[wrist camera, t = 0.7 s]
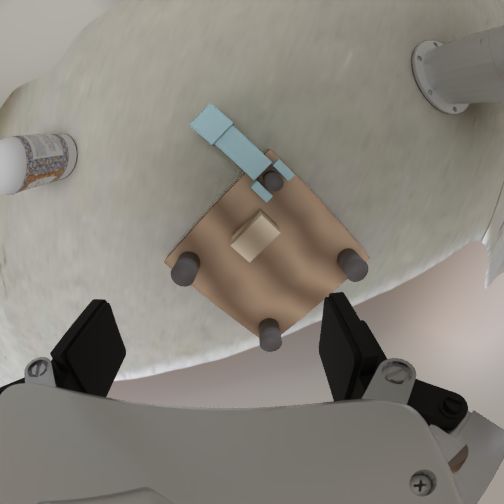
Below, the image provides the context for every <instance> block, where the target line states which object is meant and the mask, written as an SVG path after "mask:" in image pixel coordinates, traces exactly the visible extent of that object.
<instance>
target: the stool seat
mask: <svg viewBox="0 0 504 504" xmlns="http://www.w3.org/2000/svg"><path fill="white" fill-rule="evenodd" d="M264 155H265V156H266V157H267V158H268V159H269V160H270V161H271V162H274V161H275V160H276V159H280V158H279V157H278V156H277V155H276V154H275V153H274V152H273V151H272V150H271V149H268V150H267V151H266V152H265V153H264ZM280 160H281V159H280ZM281 161H282V160H281ZM282 162H283V161H282ZM283 163H284V162H283ZM284 164H285V163H284ZM285 165H286V164H285ZM286 166H287V165H286ZM287 167H288V166H287ZM288 168H289V167H288ZM289 169H290V168H289ZM290 170H291V169H290ZM291 171H292V170H291ZM292 172H293V171H292ZM293 173H294V172H293ZM294 174H295V173H294ZM256 179H257V180H258V181H260V182H261V183H262V184H263V185H264V186H265V187H266V188H267V189H268V190H269V191H270V192H271V194H272V196H273V197H272V198H271V199H270V200H269V201H268V202H267V203H266V202H265V201H264V200H263V199H262V198H261V197H260V196H259V195H258V194H257V193H256V192H255V191H254V190H253V189H252V188H251V185H250V184H251V183H252V182H253V181H254V180H253V179H252V178H251V177H250V176H249V175H248V174H247V173H244V174H243V175H242V176H241V177H240V178H239V179H238V180H237V182H236V183H235V184H234V185H233V186H232V187H231V188H230V189H229V190H228V191H227V192H226V193H225V194H224V195H223V196H222V197H221V198H220V199H219V200H218V201H217V202H216V203H215V205H214V206H213V207H212V208H211V209H210V210H209V211H208V212H207V213H206V214H205V215H204V216H203V217H202V219H201V220H200V221H199V222H198V223H197V224H196V225H195V226H194V227H193V228H192V230H191V231H190V232H189V233H188V234H187V235H186V236H185V237H184V239H183V240H182V241H181V242H180V243H179V244H178V245H177V246H176V248H175V249H174V250H173V251H172V252H171V253H170V254H169V256H168V257H167V258H166V260H165V261H164V263H165V264H166V265H168V266H169V267H170V268H171V269H172V270H171V277H172V280H173V281H174V282H175V283H176V284H178V285H180V286H189V285H192V286H193V287H194V288H195V289H197V290H198V291H199V292H200V293H202V294H203V295H204V296H205V297H207V298H208V299H209V300H210V301H212V302H213V303H214V304H215V305H217V306H218V307H219V308H221V309H222V310H223V311H224V312H226V313H227V314H228V315H230V316H231V317H232V318H234V319H235V320H236V321H237V322H239V323H240V324H241V325H243V326H244V327H245V328H247V329H248V330H249V331H251V332H252V333H254V334H255V335H256V336H258V337H259V339H260V347H261V348H262V349H263V350H265V351H268V352H272V351H276V350H277V349H279V348H280V347H281V345H282V340H281V334H282V333H284V332H285V331H286V330H287V329H289V328H290V327H291V326H292V325H294V324H295V323H296V322H297V321H299V320H300V319H301V318H302V317H304V316H305V315H306V314H307V313H308V312H310V311H311V310H312V309H313V308H314V307H316V306H317V305H318V304H319V303H320V302H321V301H323V300H324V299H325V297H327V296H328V295H329V294H330V293H332V292H333V291H334V290H335V289H336V288H338V287H339V286H340V285H341V284H342V283H343V282H344V281H345V280H347V279H349V280H350V281H353V282H358V281H360V280H362V279H363V278H364V277H365V276H366V275H367V273H368V265H367V263H366V261H367V260H368V259H369V258H370V257H369V256H368V255H367V254H366V252H365V251H364V250H363V249H362V248H361V246H360V245H359V244H358V243H357V242H356V240H355V239H354V238H353V237H352V236H351V234H350V233H349V232H348V231H347V230H346V229H345V227H344V226H343V225H342V224H341V223H340V222H339V221H338V219H337V218H336V217H335V216H334V215H333V214H332V213H331V211H330V210H329V209H328V208H327V207H326V206H325V205H324V204H323V203H322V202H321V200H320V199H319V198H318V197H317V196H316V195H315V194H314V193H313V192H312V191H311V190H310V189H309V188H308V186H307V185H306V184H305V183H304V182H303V181H302V180H301V179H300V178H299V177H298V176H297V175H296V174H295V175H294V176H293V177H292V178H291V179H290V180H289V181H288V180H286V179H285V178H284V177H283V176H282V175H281V174H280V173H279V172H278V171H277V170H276V169H275V168H274V167H273V166H272V165H271V164H270V165H269V166H268V167H267V168H266V169H265V170H264V171H263V172H262V173H261V174H260V175H259V176H258V177H257V178H256Z"/></svg>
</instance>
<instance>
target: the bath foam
mask: <svg viewBox="0 0 504 504" xmlns="http://www.w3.org/2000/svg"><path fill="white" fill-rule="evenodd" d="M76 158H77V151H76V146H75V143H74V141H73V140H72V139H71V138H70V137H69V136H68V135H65V134H38V135H22V136H14V137H8V138H4V139H2V140H0V195H10V194H15V193H18V192H21V191H24V190H27V189H30V188H33V187H36V186H40V185H43V184H46V183H50V182H53V181H57V180H60V179H63V178H65V177H67V176H68V175H69V174H70V173H71V172H72V170H73V168H74V166H75V163H76Z"/></svg>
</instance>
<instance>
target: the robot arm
mask: <svg viewBox="0 0 504 504" xmlns="http://www.w3.org/2000/svg"><path fill="white" fill-rule="evenodd" d="M412 67H413V72H414V76H415V79H416V81H417V84H418V86H419V88H420V90H421V91H422V93H423V94H424V96H425V97H426V98H427V99H428V101H429V102H430V103H431V104H432V105H433V106H434V107H436V108H437V109H439V110H440V111H442V112H444V113H447V114H459V113H462V112H463V111H465V110H466V108H467V107H468V105H469V103H489V102H504V26H501V27H497V28H493V29H490V30H486V31H483V32H479V33H476V34H473V35H470V36H467V37H464V38H461V39H458V40H455V41H452V42H449V43H446V44H443V43H441V42H438V41H434V40H428V41H424V42H422V43H420V44H419V45H418V46H417V47H416V48H415V50H414V52H413V56H412ZM50 354H51V356H52V358H53V359H52V361H50V360H49V359H48V358H45V357H40V358H36V359H34V360H32V361H31V362H30V363H29V364H28V365H27V366H26V368H25V378H22V379H20V380H17V381H15V382H13V383H10V384H8V385H5V386H3V387H1V388H0V504H477V502H478V501H479V499H480V498H481V496H482V495H483V493H484V492H485V490H486V489H487V487H488V485H489V484H490V482H491V480H492V479H493V477H494V475H495V474H496V471H497V470H498V468H499V466H500V464H501V462H502V461H503V458H504V430H503V429H502V428H500V427H498V426H497V425H496V424H494V423H492V422H491V421H489V420H488V419H486V418H485V417H483V416H482V415H480V414H479V413H477V412H476V411H473V412H472V413H471V412H469V411H468V406H467V402H466V401H465V399H464V398H463V397H462V396H461V395H459V394H457V393H454V392H451V391H448V390H445V389H443V388H440V387H437V386H433V385H431V384H428V383H425V382H423V381H420V380H417V379H416V371H415V368H414V367H413V366H412V365H411V364H410V363H409V362H407V361H405V360H403V359H398V358H392V359H387V358H386V356H385V354H384V352H383V351H382V349H381V347H380V346H379V344H378V342H377V341H376V339H375V337H374V336H373V334H372V332H371V330H370V329H369V327H368V325H367V324H366V323H365V321H363V320H361V321H360V319H359V318H358V316H357V314H356V312H355V311H354V309H353V307H352V306H351V304H350V302H349V301H348V299H347V297H346V296H345V294H344V293H343V292H339V293H330V294H329V297H325V299H324V308H323V318H322V326H321V334H320V342H319V354H320V357H321V360H322V363H323V367H324V370H325V373H326V376H327V379H328V383H329V386H330V389H331V393H332V396H333V399H334V402H323V403H314V404H305V405H294V406H279V407H263V408H196V407H179V406H166V405H156V404H146V403H138V402H131V401H124V400H118V399H112V398H106V396H107V394H108V392H109V390H110V387H111V385H112V383H113V381H114V379H115V377H116V375H117V372H118V370H119V368H120V366H121V364H122V362H123V360H124V358H125V355H126V349H125V346H124V344H123V341H122V338H121V336H120V333H119V330H118V327H117V324H116V321H115V318H114V315H113V312H112V309H111V306H110V304H109V303H107V301H106V300H101V299H94V300H92V301H91V303H90V304H89V305H88V306H87V307H86V309H85V310H84V311H83V312H82V313H81V315H80V316H79V317H78V318H77V320H76V321H75V322H74V323H73V324H72V326H71V327H70V328H69V330H68V331H67V332H66V333H65V335H64V336H63V337H62V338H61V340H60V341H59V342H58V344H57V345H56V346H55V348H54V349H53V350H52V352H51V353H50Z"/></svg>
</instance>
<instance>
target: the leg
mask: <svg viewBox="0 0 504 504" xmlns="http://www.w3.org/2000/svg"><path fill="white" fill-rule="evenodd" d="M190 126H191V127H192V128H193V129H194V130H195V131H196V132H198V133H199V134H200V135H201V136H202V137H203V138H204V139H205V140H207V141H208V142H209V143H210V144H211V145H216V146H217V147H218V148H219V149H221V150H222V151H223V152H224V153H225V154H226V155H227V156H228V157H229V158H230V159H232V160H233V161H234V162H235V163H236V164H237V165H238V166H239V167H240V168H241V169H242V170H243V171H244V172H245V173H247V174H248V175H249V176H250V177H251V178H252V179H253V180H254V181H253V182H252V183H251V184H250V185H251V188H252V189H253V190H254V191H255V192H256V193H257V194H258V195H259V196H260V197H261V198H262V199H263V200H264V201H265V202H266V203H267V202H268V201H269V200H270V199H271V198H272V197H273V196H272V194H271V192H270V191H269V190H268V189H267V188H266V187H265V186H264V185H263V184H262V183H261V182H260V181H258V180H257V179H256V178H257V177H258V176H259V175H260V174H261V173H262V172H263V171H264V170H265V169H266V168H267V167H268V166H269V165H270V164H271V165H272V166H273V167H274V168H275V169H276V170H277V171H278V172H279V173H280V174H281V175H282V176H283V177H284V178H285V179H286V180H288V181H289V180H290V179H291V178H292V177H293V176H294V175H295V174H294V173H293V172H292V171H291V170H290V169H289V168H288V167H287V166H286V165H285V164H284V163H283V162H282V161H281V160H280V159H276V160H275V161H274V162H271V161H270V160H269V159H268V158H267V157H266V156H265V155H264V154H263V153H262V152H261V151H260V150H259V149H258V148H257V147H256V146H255V145H254V144H253V143H251V142H250V141H249V140H248V139H247V138H246V137H245V136H244V135H243V134H242V133H241V132H240V131H238V130H237V129H236V128H235V127H234V126H235V125H234V123H233V122H232V121H231V120H230V119H229V118H227V117H226V116H225V115H224V114H223V113H222V112H221V111H219V110H218V109H217V108H216V107H215V106H214V105H212V104H211V103H210V104H209V105H208V106H207V107H206V108H205V109H204V111H203V112H202V113H201V114H200V115H199V116H198V117H197V118H196V119H195V120H194V121H193V122H192V123H191V124H190Z"/></svg>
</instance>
